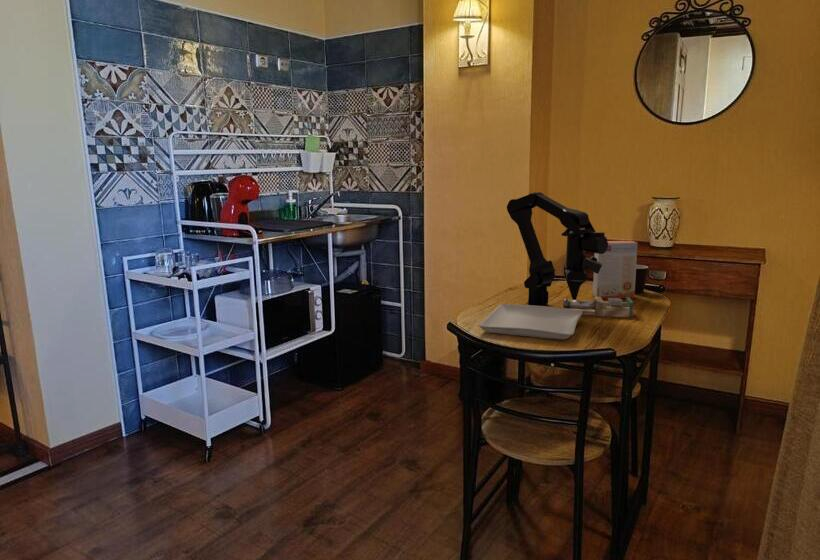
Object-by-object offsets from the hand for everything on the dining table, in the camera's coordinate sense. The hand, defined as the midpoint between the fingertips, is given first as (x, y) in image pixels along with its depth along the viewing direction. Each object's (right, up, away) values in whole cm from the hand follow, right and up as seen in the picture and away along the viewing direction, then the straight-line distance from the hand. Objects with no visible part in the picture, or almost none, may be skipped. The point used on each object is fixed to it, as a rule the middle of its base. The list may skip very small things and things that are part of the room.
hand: (573, 296), depth 192 cm
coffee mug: (+32, +1, +31) cm, 44 cm away
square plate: (-17, -10, -14) cm, 24 cm away
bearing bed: (+8, -6, -1) cm, 10 cm away
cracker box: (+21, -1, +22) cm, 30 cm away
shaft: (+3, -6, 0) cm, 7 cm away
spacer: (+13, -5, -2) cm, 14 cm away
